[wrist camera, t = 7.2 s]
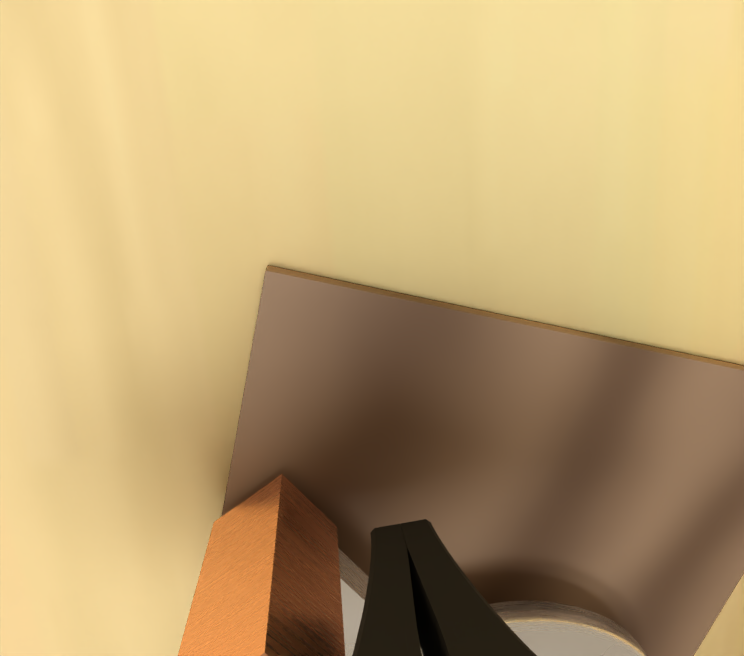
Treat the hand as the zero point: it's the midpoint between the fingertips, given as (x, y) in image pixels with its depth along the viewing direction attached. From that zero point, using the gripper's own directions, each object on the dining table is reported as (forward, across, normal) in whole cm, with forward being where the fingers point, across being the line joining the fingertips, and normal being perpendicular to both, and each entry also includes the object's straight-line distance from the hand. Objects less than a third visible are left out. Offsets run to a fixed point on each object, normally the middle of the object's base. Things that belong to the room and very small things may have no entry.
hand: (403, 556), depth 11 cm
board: (+3, -2, +7) cm, 8 cm away
